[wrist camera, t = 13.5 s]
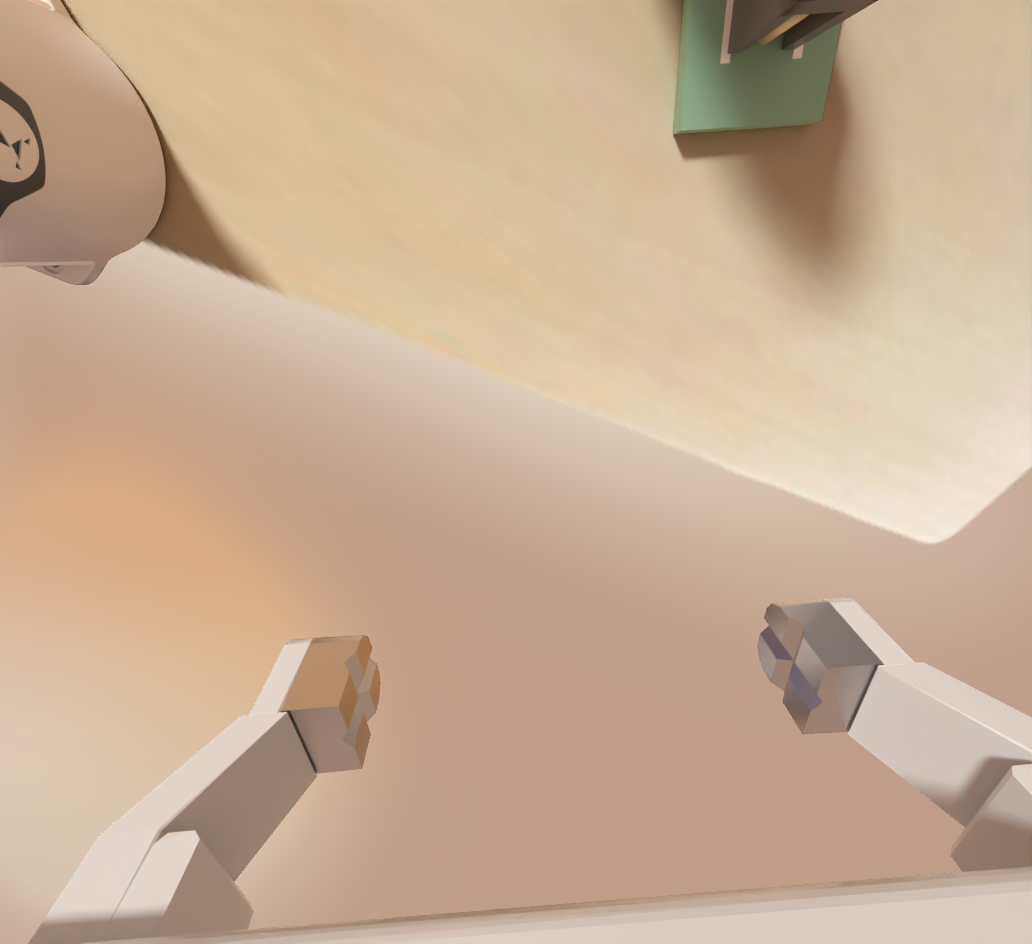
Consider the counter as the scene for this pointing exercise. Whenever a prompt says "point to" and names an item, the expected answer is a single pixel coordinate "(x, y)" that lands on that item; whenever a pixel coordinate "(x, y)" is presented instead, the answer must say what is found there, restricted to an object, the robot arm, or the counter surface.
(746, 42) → the block
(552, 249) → the counter surface
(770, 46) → the header board
